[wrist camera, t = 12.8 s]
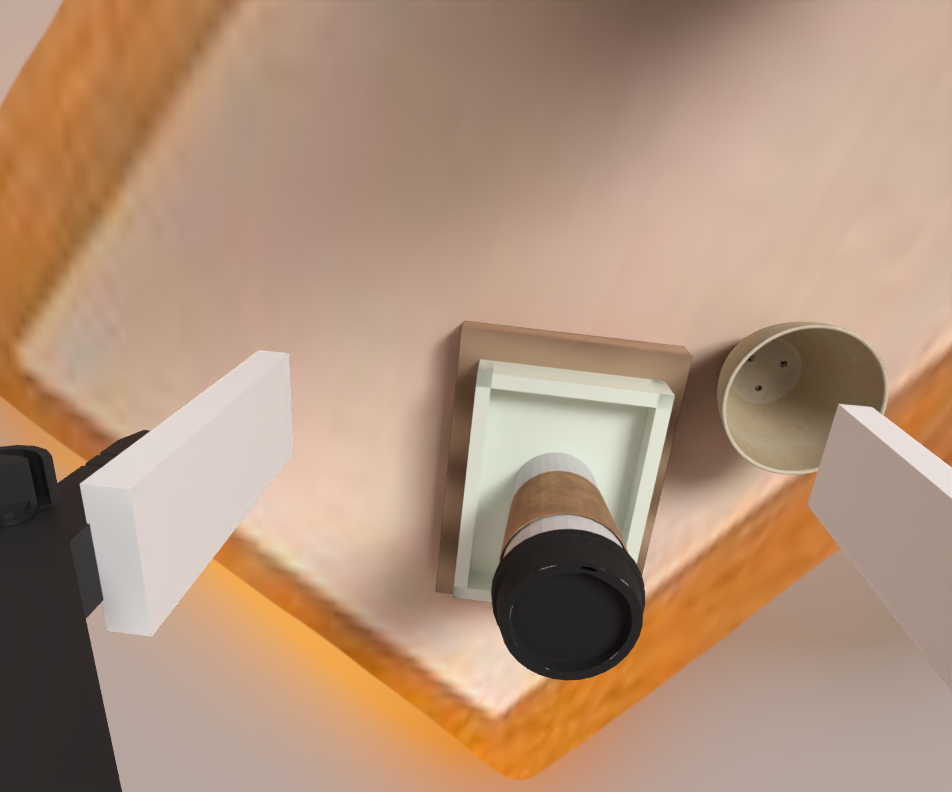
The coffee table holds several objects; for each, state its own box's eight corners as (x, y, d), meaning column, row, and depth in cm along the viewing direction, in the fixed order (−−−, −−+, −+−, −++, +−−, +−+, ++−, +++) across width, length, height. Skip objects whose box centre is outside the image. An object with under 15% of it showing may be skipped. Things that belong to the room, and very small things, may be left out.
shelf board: (464, 320, 46) (461, 329, 44) (683, 346, 46) (692, 356, 44) (439, 573, 54) (435, 591, 51) (627, 597, 53) (632, 616, 51)
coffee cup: (626, 448, 45) (675, 575, 31) (596, 547, 48) (628, 705, 34) (510, 424, 45) (507, 541, 31) (487, 525, 48) (474, 675, 34)
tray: (479, 359, 45) (477, 372, 42) (664, 380, 44) (674, 395, 41) (456, 573, 51) (452, 597, 48) (618, 593, 50) (624, 619, 48)
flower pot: (688, 433, 48) (715, 476, 41) (698, 303, 45) (729, 327, 38) (824, 431, 47) (875, 475, 41) (844, 298, 44) (903, 322, 37)
